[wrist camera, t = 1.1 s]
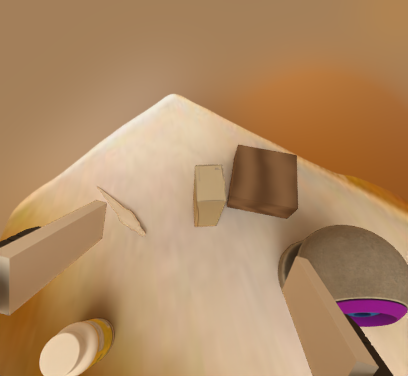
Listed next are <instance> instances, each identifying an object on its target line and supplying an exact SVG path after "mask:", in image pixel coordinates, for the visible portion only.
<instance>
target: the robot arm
mask: <svg viewBox="0 0 408 376" xmlns="http://www.w3.org/2000/svg"><path fill="white" fill-rule="evenodd" d="M106 206H107V203H105V202H101V201H98V200H95V201H93V202H91V203H89V204H87V205H85V206H83V207H81V208H79V209H77V210H75V211H73V212H71V213H69V214H67V215H65V216H63V217H61V218H59V219H57V220H55V221H53V222H51V223H49V224H47V225H45V226H43V227H39V226H38V227H34V228H30V229H26V230H24V231H22V232H20V233H18V234H16V235H14V236H11V237H9V238H7V240H3V241H1V242H0V313H2V314H6V315H11V314H12V313H13V312H14V311H15V310H17V309H18V308H19V307H20V306H21V305H23V304H24V303H25V302H26V301H27V300H29V299H30V298H31V297H32V296H33V295H35V294H36V293H37V292H38V291H39V290H41V289H42V288H43V287H44V286H45V285H47V284H48V283H49V282H50V281H51V280H53V279H54V278H55V277H56V276H57V275H59V274H60V273H61V272H62V271H64V270H65V269H66V268H67V267H68V266H70V265H71V264H72V263H73V262H74V261H76V260H77V259H78V258H79V257H80V256H82V255H83V254H84V253H85V252H86V251H88V250H89V249H90V248H91V247H92V246H94V245H95V244H96V243H97V242H98V241H100V240H101V239H102V235H103V228H104V221H105V213H106ZM282 292H283V295H284V297H285V300H286V303H287V306H288V308H289V311H290V314H291V317H292V319H293V322H294V325H295V328H296V331H297V333H298V336H299V339H300V342H301V344H302V347H303V350H304V353H305V356H306V358H307V361H308V364H309V367H310V369H311V372H312V375H313V376H393V374H392V373H391V371H390V370H389V369H388V367H387V366H386V364H385V363H384V361H383V360H382V359H381V357H380V356H379V354H378V353H377V351H376V350H375V348H374V347H373V346H372V345H371V343H370V341H369V340H368V338H367V337H365V334H364V333H363V331H362V330H361V328H360V327H359V325H358V324H357V323H356V322H355V321H354V320H353V319H352V318H351V317H350V316H349V315H348V314H344V313H343V312H342V311H341V309H340V308H339V306H338V305H337V303H336V302H335V300H334V299H333V297H332V296H331V294H330V293H329V291H328V289H327V288H326V286H325V285H324V283H323V282H322V280H321V279H320V277H319V276H318V274H317V273H316V271H315V270H314V268H313V267H312V265H311V264H310V262H309V261H308V259H305V258H301V257H298V256H296V258H295V260H294V262H293V265H292V267H291V270H290V272H289V274H288V277H287V279H286V281H285V284H284V286H283V288H282Z"/></svg>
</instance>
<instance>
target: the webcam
mask: <svg viewBox="0 0 408 376" xmlns="http://www.w3.org/2000/svg"><path fill="white" fill-rule="evenodd" d="M296 256H298V257H301V258H305V259H308V261H309V262H310V264H311V265H312V267H313V268H314V270H315V271H316V273H317V274H318V276H319V277H320V279H321V280H322V282H323V283H324V285H325V286H326V288H327V289H328V291H329V293H330V294H331V296H332V297H333V299H334V300H335V302H336V303H337V305H338V306H339V308H340V309H341V311H342V312H343V313H344V314H348V315H349V316H350V317H351V318H352V319H353V320H354V321H355V322H356V323H357V324H358V325H359V327H372V326H383V325H389V324H392V323H395V322H397V321H398V320H399V319H401V318H402V317H403V316H404V315H405V314H406V313H407V311H408V265H407V263H406V262H405V260H404V259H403V257H402V256H401V255H400V253H399V252H398V251H397V250H396V249H395V248H394V247H393V246H392V245H391V244H390V243H389V242H387V241H386V240H385V239H383V238H382V237H380V236H378V235H376V234H375V233H373V232H371V231H368V230H365V229H363V228H359V227H355V226H349V225H334V226H329V227H325V228H322V229H320V230H317V231H316V232H314V233H313V234H311V235H310V236H309V237H307V238H306V240H304V241H300V242H297V243H295V244H293V245H291V246H290V247H289V248H288V249H287V250H286V251H285V252H284V253H283V255H282V257H281V259H280V262H279V267H278V277H279V283H280V286H281V289H282V288H283V286H284V284H285V281H286V279H287V277H288V274H289V272H290V270H291V267H292V265H293V262H294V260H295V258H296Z"/></svg>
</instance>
